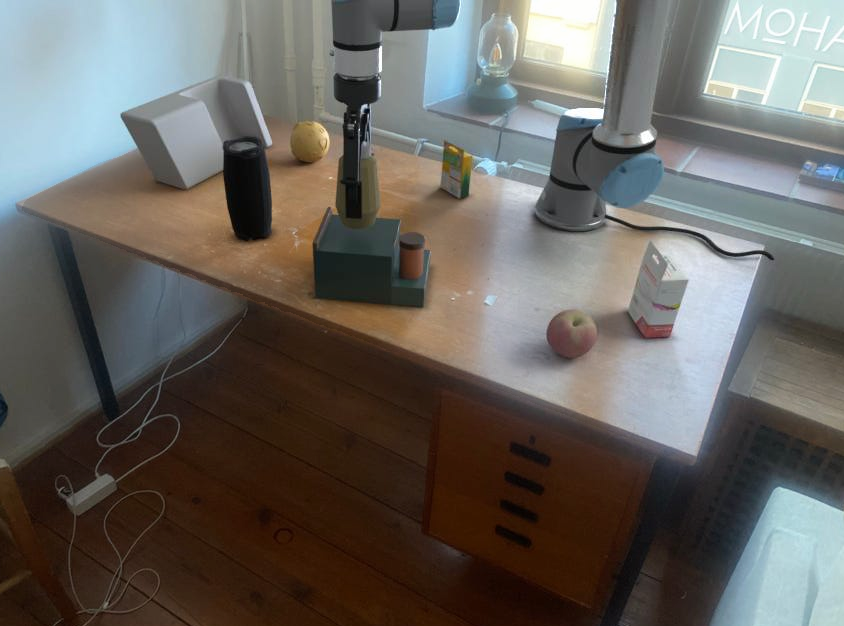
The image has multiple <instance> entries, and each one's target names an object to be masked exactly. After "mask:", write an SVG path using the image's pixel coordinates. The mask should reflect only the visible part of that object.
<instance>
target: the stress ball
mask: <svg viewBox="0 0 844 626" xmlns="http://www.w3.org/2000/svg"><path fill="white" fill-rule="evenodd" d="M330 142H331V141H330V135H329V133H328V131H327V130H326V127H324V126H323V125H322V124H320V123H319V122H316V121H314V120H305V121H302V122H301V121H299V122H297V123H296V124H295V125H294V126H293V127H292V131H291V133H290V136H289V146H290V149H291V154H292V155H293V156H294V157H295V158H296V159H297V160H299V161H303V162H306V163H315V162H318V161H320V160H321V159H323V158H324V157H325V156H326V155H327V153H328V151H329V148H330Z"/></svg>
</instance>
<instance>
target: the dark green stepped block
mask: <svg viewBox="0 0 844 626" xmlns="http://www.w3.org/2000/svg"><path fill="white" fill-rule="evenodd" d="M401 229H402V219H399V218H398V219H397V218H386V217H376V219H375V222H374V224H373V225H372V226H370V227H368V228H364V229H352V228H348V227H346V226H344V225H343V224H342V222H341V219H340V217H339V214H333V207H332V206H327V208H326V210H325V213H324V215H323V218H322V220H321V221H320V224H319V227H318V229H317V231H316V234H315V236H314V238H313V241H312V244H311V245H312V257H313V258H312V260H313V261H312V263H313V279H314V281H313V282H314V297H315V299H324V300H337V301H347V302H358V303H369V304H371V303H372V304H380V305H391V306H392V305H394V306H403V307H404V306H405V307H417V308H424V307H425V301H426V294H427V289H428V288H427V287H428V281H429V274H430V268H431V254H432V251H431V249H424V258H423V274H422V276H421V277H419V278H416V279H406V278H403V277H402V276H400V274H399V249H400V245H399V237H400V235H401V233H402V231H401Z"/></svg>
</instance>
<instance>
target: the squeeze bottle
mask: <svg viewBox="0 0 844 626" xmlns="http://www.w3.org/2000/svg"><path fill="white" fill-rule="evenodd" d="M360 136H362V135H360ZM371 147H372V143H371V144H370V143H369V142H366V141H364V142H363V145H362V162H361V182H362V219H354V218H346V196H345V185H343V184H341V182H340V180H343V155H341V156H340V157H339V158H338V166H337V179H336V191H335V204H334V206H335V208H336V211H337V215H339V217H340V219H341V222H342V224H343V225H344V226H346V227H348V228H352V229H364V228H368V227H370V226H372V225H373V224H374V222H375V219H376V218H377V216H378V214H379V211H380V208H381V193H380V183H379V182H380V181H379V173H378V163H377V162H378V161H377V158H376V157H375V155H374V156H373V155H371V154H372V150H371Z"/></svg>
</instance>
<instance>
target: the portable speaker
mask: <svg viewBox="0 0 844 626" xmlns="http://www.w3.org/2000/svg"><path fill="white" fill-rule="evenodd" d="M222 148H223V149H224V150H223V151H224V154H223V171H222V177H223V186H224V194H225V201H226V209H227V213H228V216H229V219H230V223H231V224H230V225H231V228H232V231H233V233H234V236H235V237H236V239H237V240H239V241H243V242H246V243H248V242H249V241H251V240H252V239H255V238H261V237H262V238H264V239H269V237H270V236H271V235H272V223H273V200H272V199H273V198H272V186H271V173H270V168H269V164H268V160H267V155H266V150H265V149H266V148H264V146H263V143H262V141H261V139H259V138H257V137H252V136H245V137H243V138H239V139H234V140H227V141H225V142H224V143H223V146H222Z"/></svg>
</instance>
